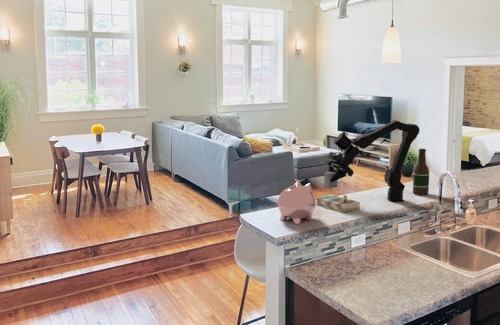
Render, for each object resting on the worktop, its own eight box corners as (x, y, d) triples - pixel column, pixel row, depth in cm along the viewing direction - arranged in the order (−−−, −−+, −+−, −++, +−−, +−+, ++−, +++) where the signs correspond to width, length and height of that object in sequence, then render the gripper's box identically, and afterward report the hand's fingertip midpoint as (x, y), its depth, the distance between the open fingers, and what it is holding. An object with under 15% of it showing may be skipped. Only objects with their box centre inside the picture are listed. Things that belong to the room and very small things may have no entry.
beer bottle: (412, 195, 248) (413, 149, 244) (413, 191, 256) (414, 147, 251) (428, 196, 246) (430, 150, 241) (428, 192, 253) (430, 148, 248)
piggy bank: (323, 218, 212) (323, 183, 209) (297, 227, 200) (297, 190, 197) (297, 211, 223) (297, 178, 220) (271, 220, 211) (270, 185, 208)
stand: (359, 209, 224) (359, 201, 224) (344, 212, 219) (344, 205, 218) (331, 201, 240) (331, 194, 239) (316, 204, 235) (316, 197, 234)
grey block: (332, 185, 235) (332, 171, 234) (337, 187, 231) (337, 173, 229) (324, 186, 234) (324, 172, 232) (328, 188, 229) (328, 173, 228)
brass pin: (346, 201, 226) (346, 195, 225) (347, 202, 224) (347, 196, 224) (343, 201, 225) (343, 195, 225) (344, 202, 224) (344, 196, 223)
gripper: (329, 143, 239) (309, 167, 237) (348, 148, 221) (326, 173, 220) (342, 157, 242) (323, 181, 241) (362, 163, 225) (341, 188, 223)
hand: (328, 180), depth 231 cm, fingers closed on grey block, 5 cm apart
